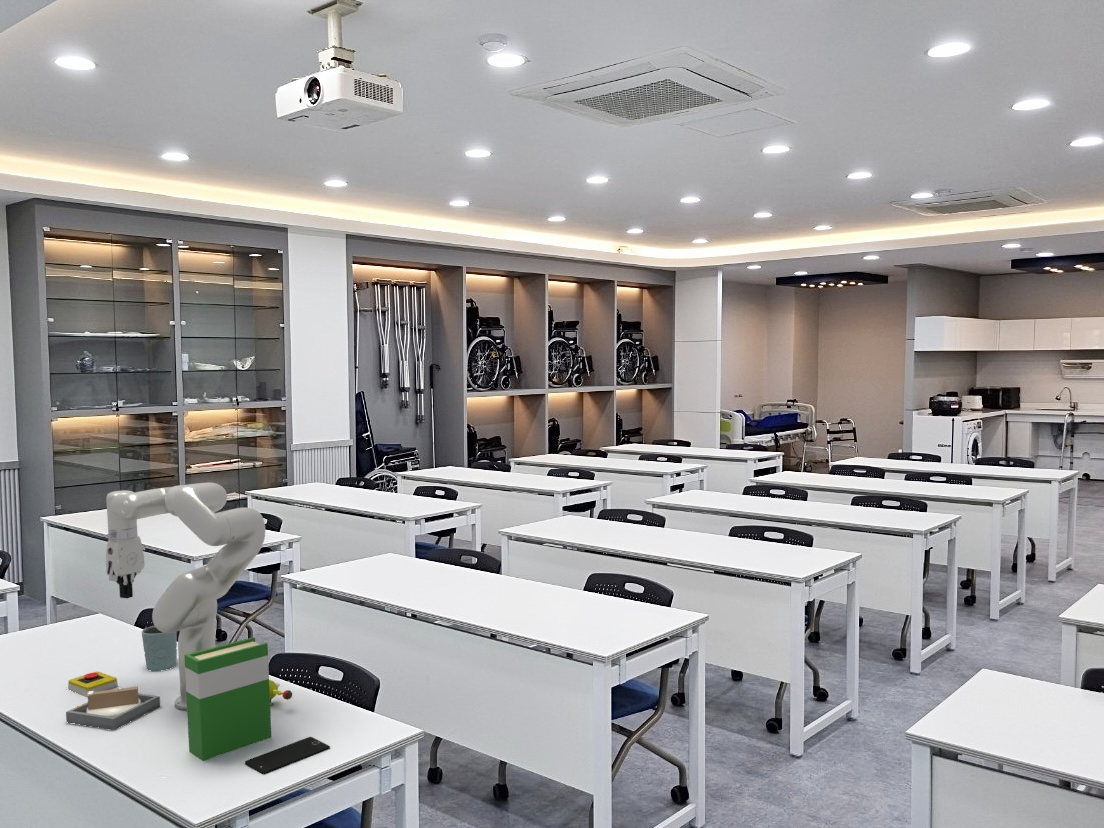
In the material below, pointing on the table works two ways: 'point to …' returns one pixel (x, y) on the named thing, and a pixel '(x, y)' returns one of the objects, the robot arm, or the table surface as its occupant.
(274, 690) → the toy figure
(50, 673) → the table surface
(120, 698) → the dial
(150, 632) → the teal cup
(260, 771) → the cell phone
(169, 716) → the table surface
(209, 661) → the hardback book
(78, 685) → the emergency button
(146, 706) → the dial housing
